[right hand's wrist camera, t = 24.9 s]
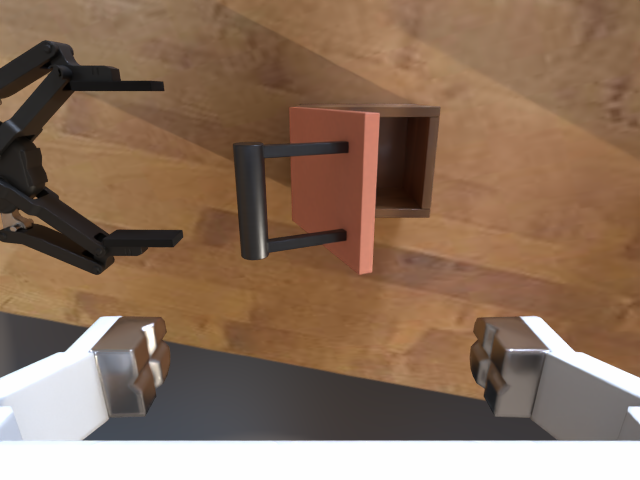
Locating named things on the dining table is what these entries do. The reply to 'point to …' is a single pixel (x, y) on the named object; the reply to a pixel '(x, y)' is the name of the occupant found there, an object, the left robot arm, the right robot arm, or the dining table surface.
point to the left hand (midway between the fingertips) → (169, 167)
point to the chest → (402, 156)
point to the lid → (315, 185)
